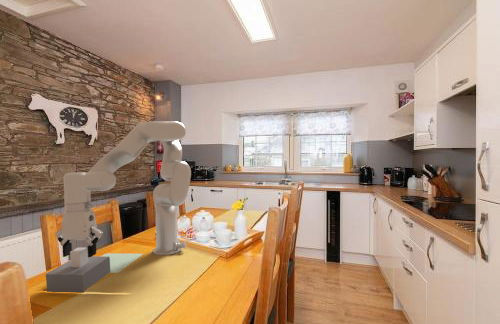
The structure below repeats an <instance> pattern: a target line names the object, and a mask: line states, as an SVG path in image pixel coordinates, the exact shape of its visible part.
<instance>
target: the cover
mask: <svg viewBox="0 0 500 324" xmlns="http://www.w3.org/2000/svg"><path fill="white" fill-rule="evenodd" d="M69 256H70V258H69V259H70V260H68V261H67V262H65V263H63V264H61V265H60V266H58V267H56V268H54V269H52V270H51V271H49V272H47V273H45V280H46V281H45V283H46V292H49V293H77V294H78V293H79V294H83V293H85V292H86V290H88V289H90V288H91V287H92V286H93V285H94V284H96V283H97V282H99V281H100V280H102V279H103V278H105V277H106V276H107V275H109V274H111V273H110V257H101V256H96V255H93V256H92V257H88V247H76V248H75V249H72V251H70V255H69Z"/></svg>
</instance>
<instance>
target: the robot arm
mask: <svg viewBox="0 0 500 324" xmlns="http://www.w3.org/2000/svg"><path fill="white" fill-rule="evenodd" d="M186 130H187V129H186V126H185V125H184V124H183V123H182V122H179V121H176V120H175V121H173V120H168V121H167V120H163V121H162V120H149V121H144V122H140V123H138V124H137V125H136V126H133V128H132V130H130V132H128V134H127V135H125V137H124V138H123V139H122V140H120V142H119V143H117V145H116V146H115V147H114V148H112V149H110V151H108V153H106V154H105V155H104V156H103V157H102V158H100V159H99V160H98V161H97V162H96V163H95V164H94V165H93V166H92V167H91V168H90V169H89V170H88V171H87V172H85V171H83V172H82V171H80V172H78V171H77V172H68V173H65V174H64V175H63V194H64V195H63V197H64V199H63V201H64V212H63V215H62V221H61V229H59V230H58V231H56V232H55V233H54V234H55V236H56V238H57V241H58V242H59V244H60V246H62V247H61V248H62V257H63V258H66V257H68V256H70V251H72V250H73V245H72V242H71V241H85V242H86V243H87V244H88V245H87V252H88V257H92V256H96V255H97V244H98V242H100V240H101V238H102V236H103V234H104V232H103V231H102V230H101V229H99V228H98V225H97V220H96V219H97V218H96V214H95V211H94V209H92V208H93V207H94V204H93V203H92V200H91V192H104V191H105V192H106V191H110V190H111V189H113V188H114V187H115V185H116V183H117V178H116V176H115V174H114V173H115V172H116V171H117V170H118V169H119V168H122V167H123V166H125V165H127V164H130V163H131V162H133V161H135V160H136V159H137V158H138V157H139V155H140V154H141V153H142V151H143V150H145V148H146V147H147V146H148V145H149V144H150V143H152V142H161V143H160V144H162V146H163V147H162V148H163V158H162V161H161V165H160V166H161V167H160V177H161V179H163V180H164V181H168V182H170V183H161V184H158V185H157V186H155V188H154V189H153V192H152V198H153V203H154V209H155V237H156V239H155V242H156V246H155V247H154V248H153V250H152V253H153V254H154V255H157V256H170V255H175V254H177V253H180V251H182V249H186V247H187V243H186V242H185V241H183V242H181V241H180V240H181V239H180V238H178V234H179V233H178V211H177V210H178V209H177V207H179V206H182V205H183V204H184V203H185V202H186V200H187V198H188V195H189V189H190V183H191V178H192V170H191V169H192V168H191V167H190V165H189V164H188V163H187V162H186V161H183V160H182V159H183V147H182V145H181V143H180V141H181V140H182V139H183V138H184V137H185V136H186V133H187V131H186Z"/></svg>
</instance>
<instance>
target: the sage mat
mask: <svg viewBox="0 0 500 324" xmlns="http://www.w3.org/2000/svg"><path fill="white" fill-rule="evenodd" d="M143 255H144V253H114V252H113V253H108V252H107V253H106V252H105V253H104V254H102V255H101V256H100V257H110V273H109V274H119V273H120V272H121V271H123V270H124V269H125V268H126V267H128V266H130V265H131V264H132V263H134V262H135V261H136V260H138V259H139V258H140V257H142V256H143Z"/></svg>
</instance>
